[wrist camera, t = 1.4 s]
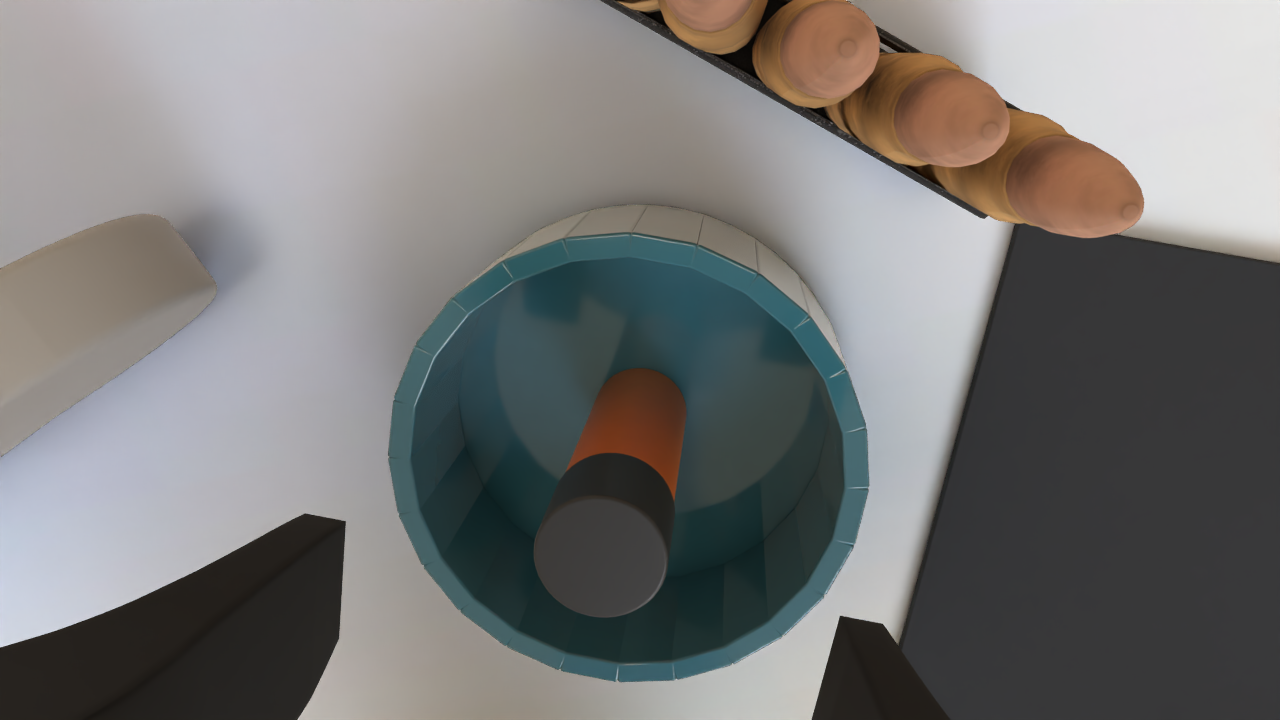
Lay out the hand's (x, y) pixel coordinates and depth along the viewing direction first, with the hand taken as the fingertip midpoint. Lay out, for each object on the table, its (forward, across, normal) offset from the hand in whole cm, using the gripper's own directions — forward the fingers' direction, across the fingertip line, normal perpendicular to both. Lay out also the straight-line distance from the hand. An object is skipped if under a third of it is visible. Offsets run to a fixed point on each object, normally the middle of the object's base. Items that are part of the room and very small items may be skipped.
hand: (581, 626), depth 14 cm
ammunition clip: (+11, -1, -8) cm, 14 cm away
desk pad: (+10, -15, +2) cm, 18 cm away
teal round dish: (+10, 0, +1) cm, 11 cm away
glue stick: (+10, 0, +1) cm, 10 cm away
